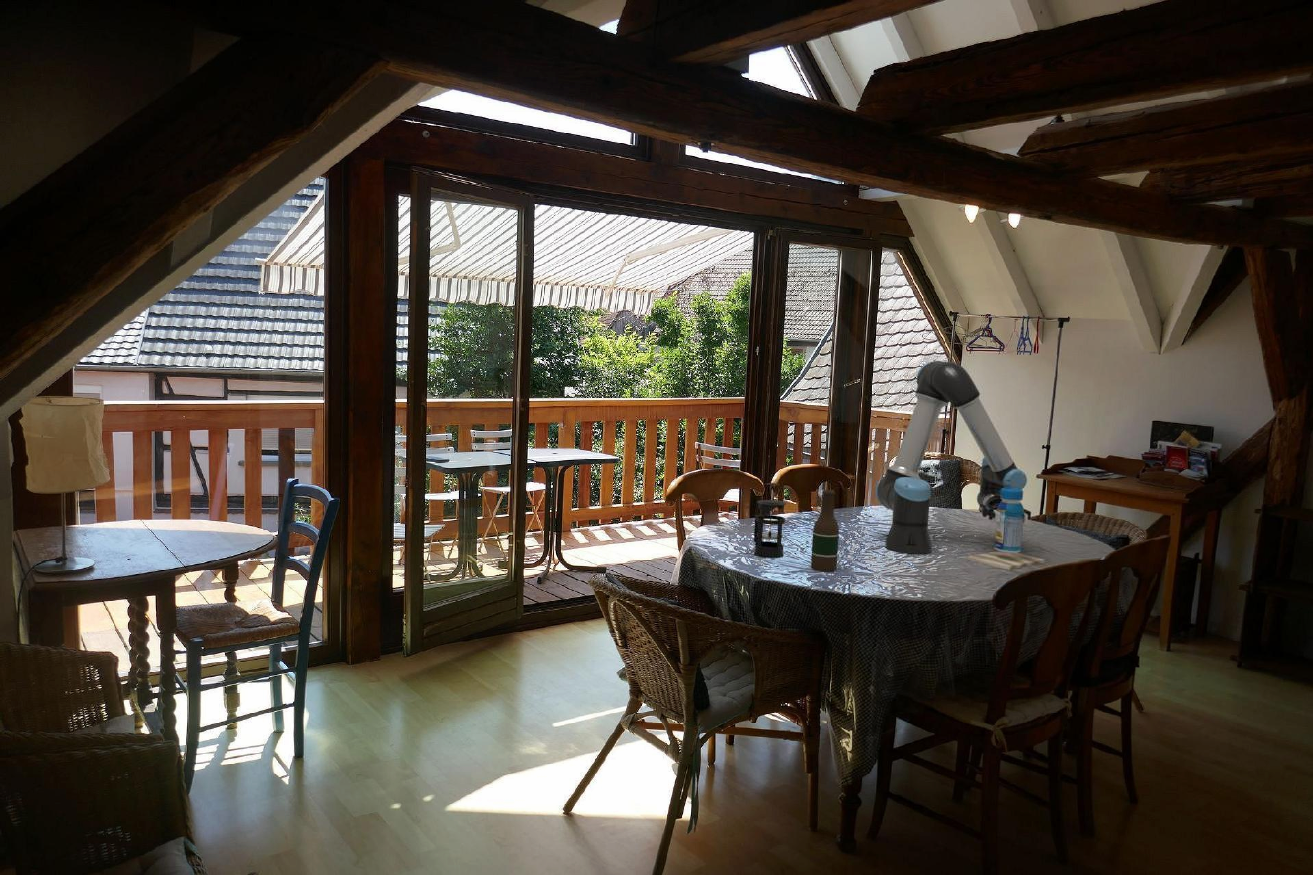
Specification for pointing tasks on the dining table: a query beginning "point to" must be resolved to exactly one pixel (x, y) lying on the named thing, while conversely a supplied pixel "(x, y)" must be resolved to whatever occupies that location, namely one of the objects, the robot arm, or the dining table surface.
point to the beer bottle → (825, 536)
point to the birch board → (1005, 560)
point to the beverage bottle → (1010, 521)
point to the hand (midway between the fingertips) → (1012, 518)
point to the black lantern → (766, 547)
